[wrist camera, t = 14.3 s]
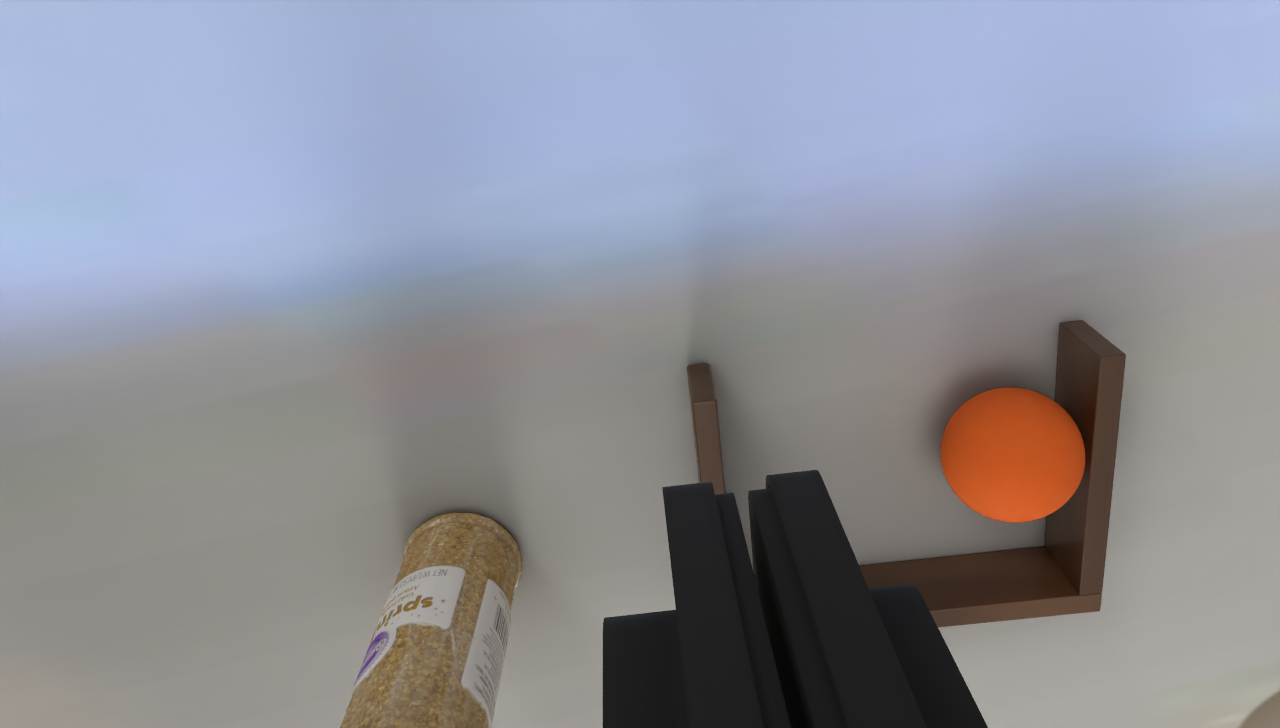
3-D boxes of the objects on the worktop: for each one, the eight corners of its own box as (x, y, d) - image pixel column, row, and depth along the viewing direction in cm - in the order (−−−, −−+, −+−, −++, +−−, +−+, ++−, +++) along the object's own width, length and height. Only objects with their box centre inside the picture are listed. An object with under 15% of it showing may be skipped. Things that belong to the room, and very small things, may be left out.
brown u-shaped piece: (712, 597, 36) (718, 650, 33) (686, 364, 32) (691, 402, 29) (1064, 561, 35) (1100, 611, 32) (1083, 319, 31) (1126, 354, 28)
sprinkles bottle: (423, 492, 34) (301, 795, 21) (540, 529, 34) (488, 844, 22) (391, 587, 35) (262, 918, 23) (503, 620, 36) (436, 960, 24)
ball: (898, 422, 33) (941, 546, 31) (971, 376, 29) (1023, 515, 27) (1001, 405, 34) (1046, 522, 33) (1083, 359, 30) (1139, 490, 29)
